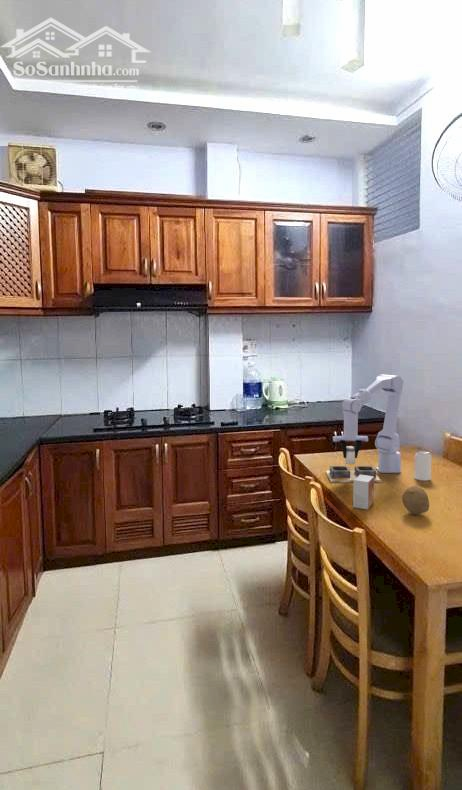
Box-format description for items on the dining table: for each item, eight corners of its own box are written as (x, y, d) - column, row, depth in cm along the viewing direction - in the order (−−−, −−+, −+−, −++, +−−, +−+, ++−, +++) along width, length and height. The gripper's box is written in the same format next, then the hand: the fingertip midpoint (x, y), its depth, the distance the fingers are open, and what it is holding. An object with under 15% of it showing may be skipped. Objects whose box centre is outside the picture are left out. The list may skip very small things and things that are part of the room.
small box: (367, 510, 170) (368, 482, 168) (352, 507, 173) (353, 479, 171) (374, 503, 177) (374, 476, 175) (359, 500, 180) (359, 473, 178)
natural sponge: (400, 507, 172) (401, 481, 170) (427, 510, 169) (428, 483, 167) (401, 517, 163) (402, 489, 162) (429, 520, 160) (430, 492, 159)
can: (431, 481, 200) (433, 454, 198) (415, 480, 201) (416, 453, 199) (428, 476, 206) (429, 450, 204) (413, 476, 207) (414, 449, 206)
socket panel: (372, 472, 214) (372, 463, 213) (380, 482, 200) (381, 473, 199) (325, 472, 215) (326, 464, 214) (330, 482, 201) (330, 473, 200)
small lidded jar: (353, 461, 205) (354, 446, 204) (356, 464, 201) (356, 448, 200) (344, 461, 205) (344, 446, 204) (346, 464, 201) (346, 448, 200)
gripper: (335, 428, 197) (334, 460, 199) (370, 428, 196) (369, 460, 198) (332, 425, 204) (331, 455, 206) (366, 425, 203) (365, 455, 205)
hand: (350, 457), depth 202 cm, fingers closed on small lidded jar, 4 cm apart
